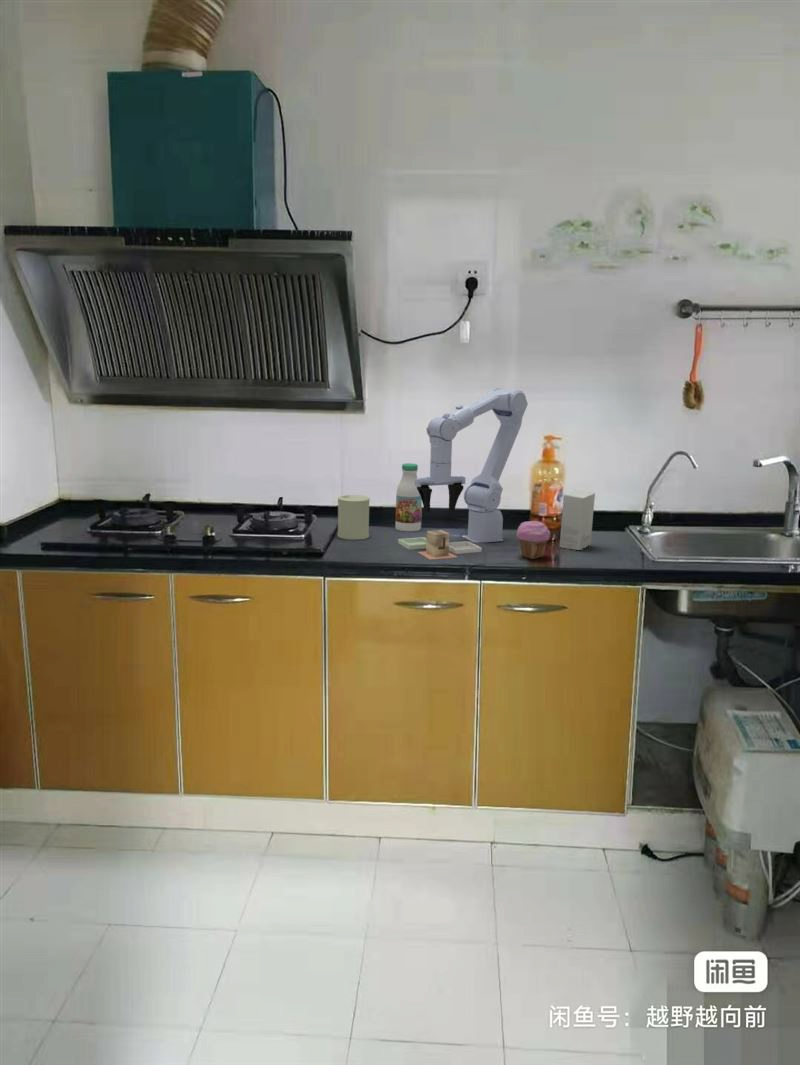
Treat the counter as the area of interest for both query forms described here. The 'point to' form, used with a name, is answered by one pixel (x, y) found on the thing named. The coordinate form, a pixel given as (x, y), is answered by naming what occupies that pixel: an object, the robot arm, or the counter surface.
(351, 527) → the can
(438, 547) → the brown block
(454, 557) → the terracotta pad
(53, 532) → the counter surface
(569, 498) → the skincare box
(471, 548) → the light grey tray
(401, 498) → the milk bottle
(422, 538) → the sage green tray
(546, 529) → the cupcake
